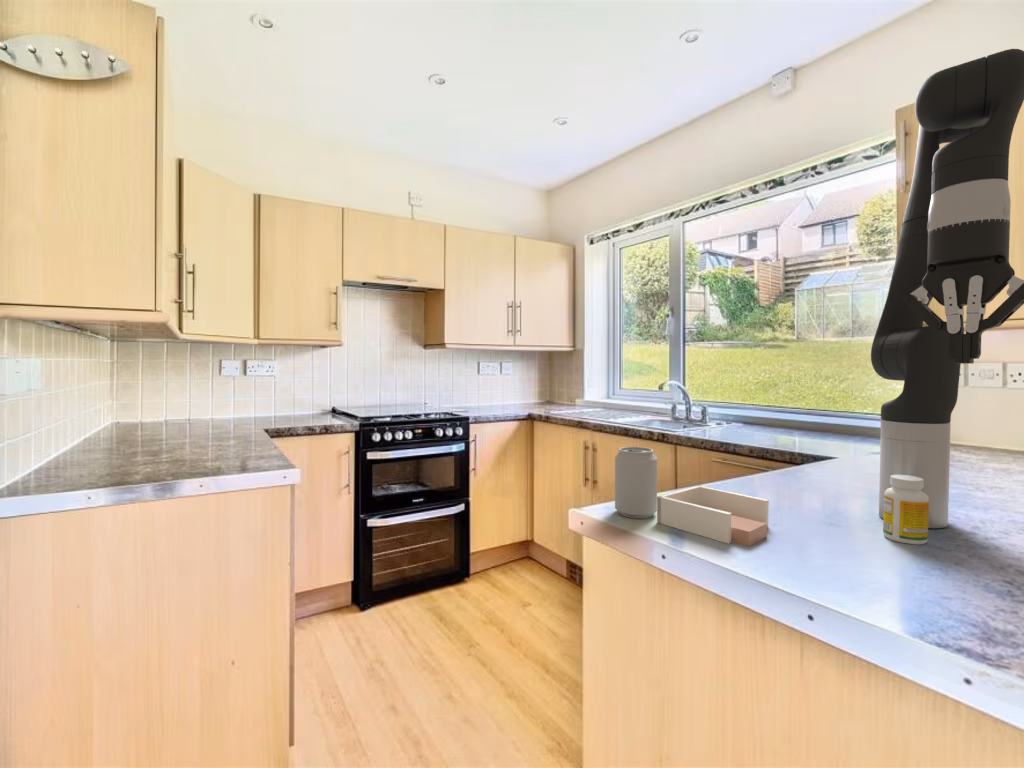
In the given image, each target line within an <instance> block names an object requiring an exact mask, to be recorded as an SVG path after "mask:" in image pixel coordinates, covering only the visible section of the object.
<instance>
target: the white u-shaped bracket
mask: <svg viewBox="0 0 1024 768" xmlns="http://www.w3.org/2000/svg"><path fill="white" fill-rule="evenodd" d="M700 505H701V506H700ZM704 506H705V507H704ZM769 506H770V505H769V499H765V498H761V497H755V496H751V495H745V494H743V493H742V494H741V493H736V492H733V491H732V492H731V491H727V490H722V489H717V488H712V487H708V486H705V485H704V486H703V485H699V484H698V485H696V486H692V487H687V488H685V489H684V488H683V489H680V490H677V491H674V492H669V493H665V494H662V495H657V511H656V522H657V524H661V525H664V526H667V527H672V528H675V529H679V530H681V531H684V532H688V533H691V534H695V535H698V536H701V537H705V538H708V539H711V540H715V541H718V542H721V543H724V544H728V545H730V543H732V541H731V513H733V516H738V517H742V518H746V519H750V520H754V521H759V522H763V523H767V528H769ZM708 507H710V508H708ZM712 508H714V509H712ZM716 509H718V510H716ZM720 510H723V511H720ZM724 511H727V512H724ZM728 512H731V513H728Z"/></svg>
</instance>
